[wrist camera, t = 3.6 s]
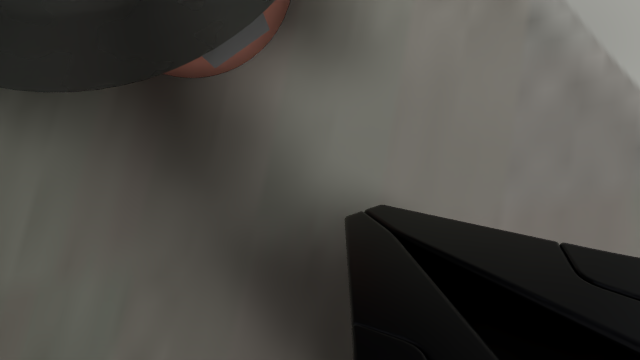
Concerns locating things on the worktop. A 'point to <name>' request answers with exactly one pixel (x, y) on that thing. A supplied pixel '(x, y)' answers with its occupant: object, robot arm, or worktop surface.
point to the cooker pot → (237, 45)
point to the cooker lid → (110, 39)
